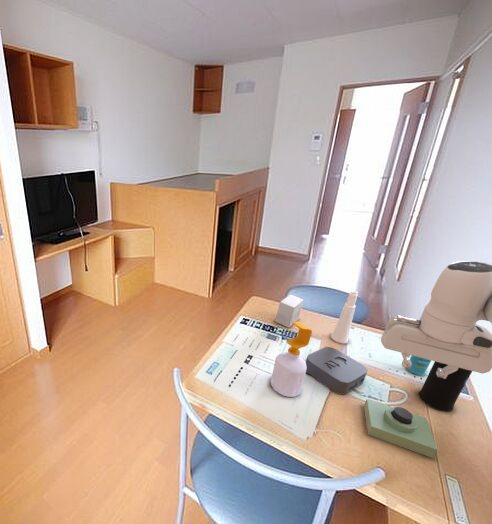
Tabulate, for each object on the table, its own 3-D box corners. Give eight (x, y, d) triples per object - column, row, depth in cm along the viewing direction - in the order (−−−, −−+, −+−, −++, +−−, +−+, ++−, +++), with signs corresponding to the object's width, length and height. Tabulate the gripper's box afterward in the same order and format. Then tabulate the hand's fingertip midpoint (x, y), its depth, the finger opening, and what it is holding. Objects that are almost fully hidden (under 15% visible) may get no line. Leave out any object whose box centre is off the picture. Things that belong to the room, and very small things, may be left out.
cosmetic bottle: (348, 345, 120) (364, 296, 112) (330, 340, 123) (345, 292, 115) (347, 337, 125) (363, 290, 117) (331, 333, 128) (345, 286, 120)
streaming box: (325, 356, 114) (329, 345, 112) (366, 381, 103) (371, 369, 101) (300, 368, 108) (303, 357, 106) (340, 397, 96) (345, 385, 94)
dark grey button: (408, 415, 85) (411, 410, 84) (411, 426, 81) (414, 421, 81) (390, 410, 86) (393, 404, 86) (393, 420, 83) (395, 415, 82)
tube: (408, 374, 106) (428, 328, 99) (399, 364, 110) (418, 320, 103) (432, 376, 105) (454, 330, 98) (422, 367, 109) (443, 322, 102)
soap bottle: (264, 380, 102) (277, 319, 93) (285, 374, 105) (300, 313, 96) (284, 400, 95) (301, 335, 85) (306, 393, 98) (325, 329, 88)
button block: (422, 425, 87) (428, 413, 85) (433, 458, 78) (440, 445, 76) (363, 406, 93) (368, 393, 91) (367, 434, 84) (373, 421, 82)
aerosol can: (427, 408, 93) (454, 356, 85) (412, 388, 100) (435, 338, 92) (459, 414, 91) (490, 361, 83) (441, 393, 98) (468, 342, 90)
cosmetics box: (289, 328, 131) (294, 307, 127) (274, 322, 135) (279, 301, 131) (299, 319, 137) (304, 299, 133) (285, 313, 142) (289, 293, 138)
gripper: (392, 320, 74) (375, 365, 80) (510, 346, 65) (481, 395, 71) (387, 308, 79) (371, 351, 85) (496, 331, 70) (470, 377, 76)
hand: (422, 371), depth 78 cm, fingers open, 5 cm apart
